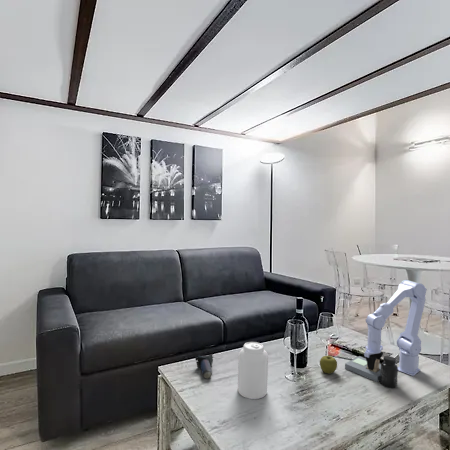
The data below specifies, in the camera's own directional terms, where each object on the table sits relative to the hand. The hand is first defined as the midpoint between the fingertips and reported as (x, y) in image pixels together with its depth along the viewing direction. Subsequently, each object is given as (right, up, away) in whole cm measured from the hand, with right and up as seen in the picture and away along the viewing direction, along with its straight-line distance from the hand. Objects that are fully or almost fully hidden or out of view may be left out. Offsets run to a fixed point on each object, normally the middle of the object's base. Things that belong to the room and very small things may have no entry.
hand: (373, 367), depth 154 cm
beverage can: (-80, -1, -3) cm, 80 cm away
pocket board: (-1, -3, +3) cm, 4 cm away
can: (-59, -2, -18) cm, 62 cm away
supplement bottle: (+3, -3, -9) cm, 10 cm away
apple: (-21, -3, +1) cm, 21 cm away
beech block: (0, -3, 0) cm, 3 cm away
